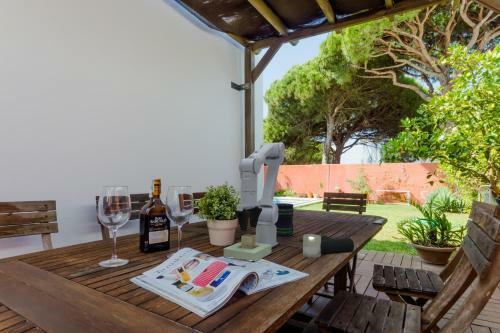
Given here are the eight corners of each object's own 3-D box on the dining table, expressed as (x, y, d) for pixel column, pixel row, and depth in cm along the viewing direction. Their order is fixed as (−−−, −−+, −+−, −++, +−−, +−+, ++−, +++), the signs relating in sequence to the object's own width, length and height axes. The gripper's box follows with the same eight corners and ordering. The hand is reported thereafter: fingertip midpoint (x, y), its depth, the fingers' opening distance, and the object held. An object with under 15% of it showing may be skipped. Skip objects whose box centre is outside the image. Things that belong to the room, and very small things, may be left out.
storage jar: (270, 236, 141) (270, 204, 141) (275, 232, 150) (275, 202, 151) (291, 238, 138) (291, 205, 138) (295, 234, 147) (295, 203, 147)
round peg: (305, 252, 114) (305, 233, 114) (322, 254, 111) (322, 235, 111) (300, 256, 108) (300, 236, 109) (318, 258, 106) (318, 238, 106)
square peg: (246, 253, 111) (246, 234, 111) (256, 254, 109) (256, 235, 109) (241, 255, 108) (241, 236, 108) (250, 257, 106) (251, 237, 106)
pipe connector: (304, 234, 121) (336, 233, 126) (304, 248, 121) (336, 245, 126) (320, 241, 110) (354, 239, 115) (319, 256, 110) (354, 253, 115)
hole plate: (243, 248, 118) (243, 240, 118) (271, 252, 112) (271, 244, 112) (223, 257, 105) (223, 248, 105) (254, 262, 100) (254, 253, 100)
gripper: (249, 192, 101) (249, 233, 101) (267, 190, 114) (267, 227, 113) (231, 191, 104) (231, 231, 104) (251, 190, 117) (250, 225, 117)
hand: (248, 229), depth 109 cm, fingers open, 7 cm apart
